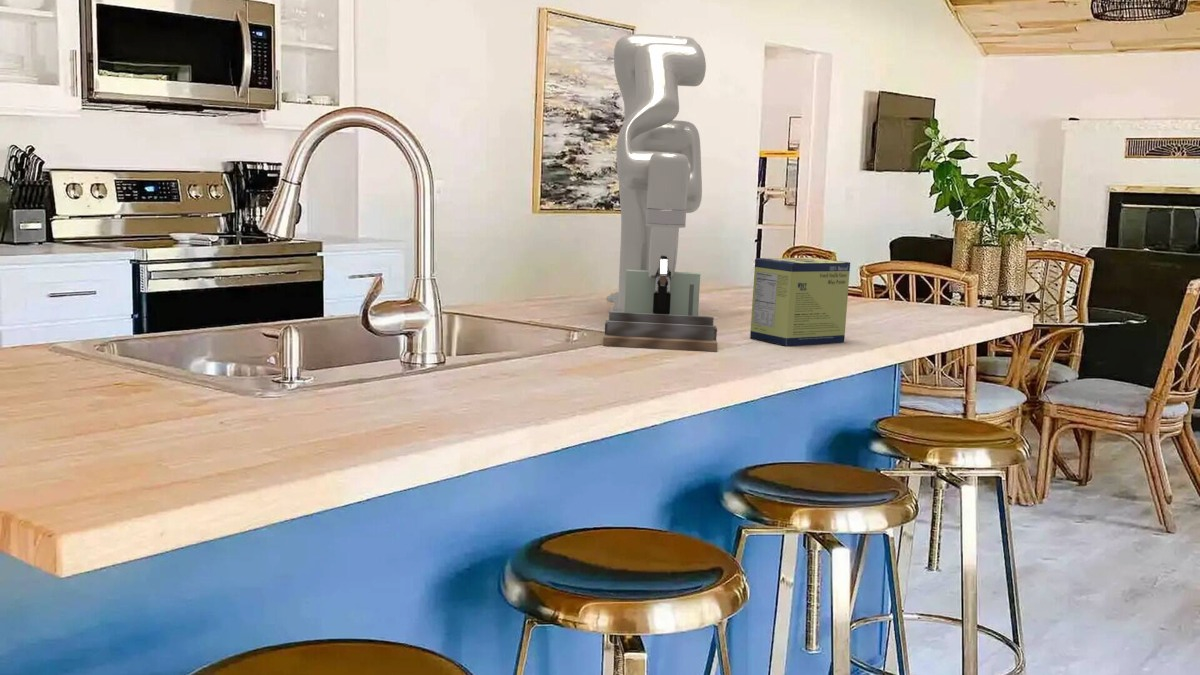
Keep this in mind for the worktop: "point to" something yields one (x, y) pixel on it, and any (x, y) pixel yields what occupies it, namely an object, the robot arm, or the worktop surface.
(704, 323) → the door track
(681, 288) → the door panel
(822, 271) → the protein box
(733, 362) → the worktop surface
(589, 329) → the worktop surface
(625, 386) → the worktop surface
